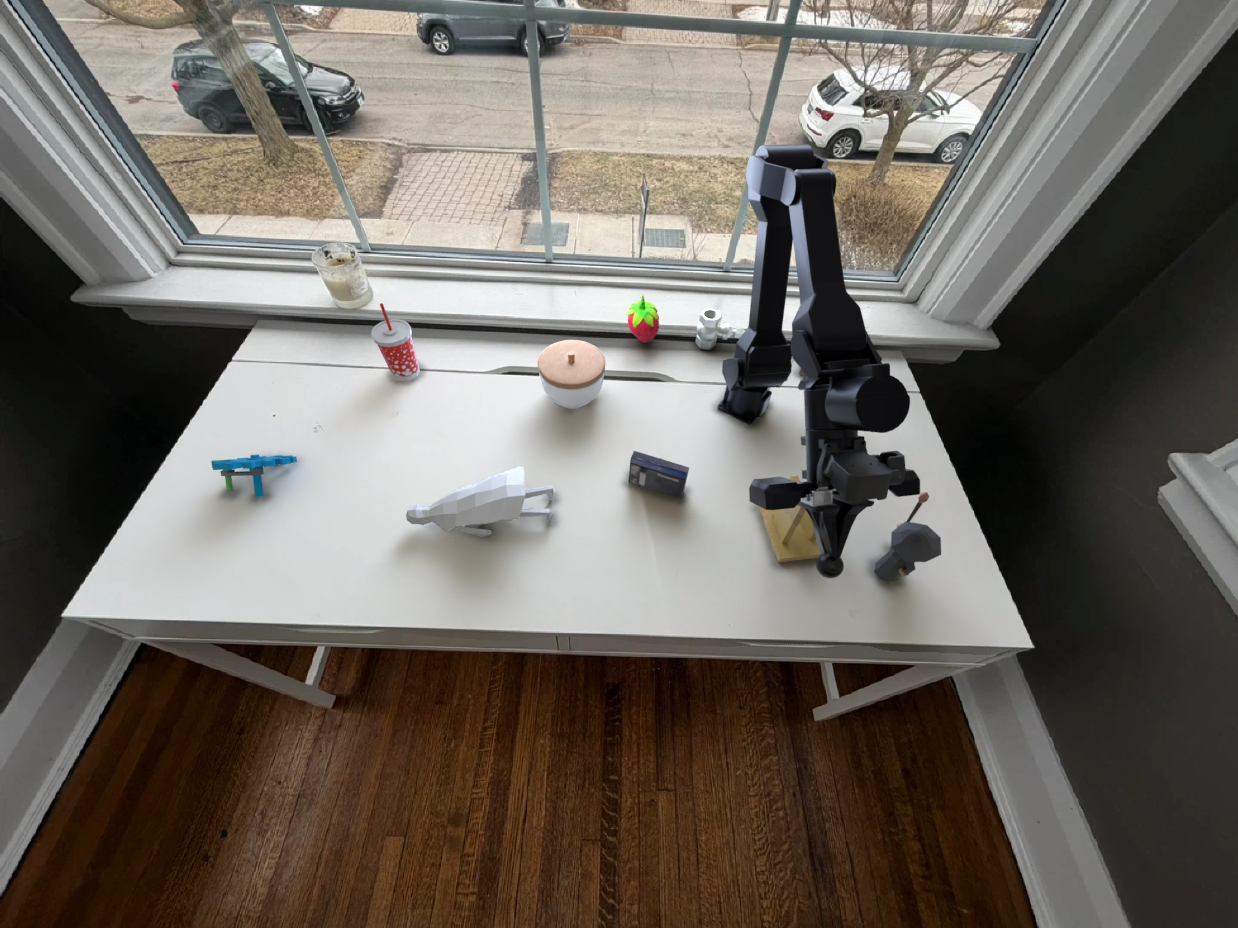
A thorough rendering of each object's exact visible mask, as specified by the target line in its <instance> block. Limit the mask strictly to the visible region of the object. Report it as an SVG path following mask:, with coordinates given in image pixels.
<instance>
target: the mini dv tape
mask: <svg viewBox="0 0 1238 928" xmlns="http://www.w3.org/2000/svg"><path fill="white" fill-rule="evenodd" d="M689 471H690V467H689V466H686V465H682V464H679V463H677V462H672V461H670V460H666V459H663V458H659V457H656V456H653V455H650V454H646V453H643V452H640V451H636V450H633V452H632V454H631V456H630V461H629V471H628V484H630V485H632V486H636V487H638V488H641V487H642V488H645V489H649V490H652V491H655V492H658V493H661V494H664V495H666V496H670V497H674V498H677V499H680V500H682V499H683V495H684V492H685V490H686V485H687V479H688V475H689Z"/></svg>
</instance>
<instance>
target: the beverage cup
mask: <svg viewBox="0 0 1238 928" xmlns="http://www.w3.org/2000/svg"><path fill="white" fill-rule="evenodd" d="M379 307H380V309H381V312H382V315H383V317H384V320H383V321H380V322H379V323H377V324H376V325H374V326H373V328H372V329H371V332H370V333H371V334H370V336H371V339H372V340H373V342H374V344H376V345H377V347H378V349H379V351H380V353H381V355H382V358H383V360H384V361H385V364H386V366H387V367H388V370H389V371H390V374H391V376H392V377H393V379H394V380H395V381H397V382H401V383H405V382H410V381H414V380H415V379H416V378H418V376H419V375H420V373H421V368H420V366H419V360H418V357H417V352H416V349H415V345H414V341H413V337H412V331H413V330H412V326H411V325H410V324H409V322H407V321H406V320H404V319H398V318H393V319H392V318H391V319H389V317H388V314H387V311H386V308H385V306H384V304H383V303H379Z"/></svg>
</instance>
